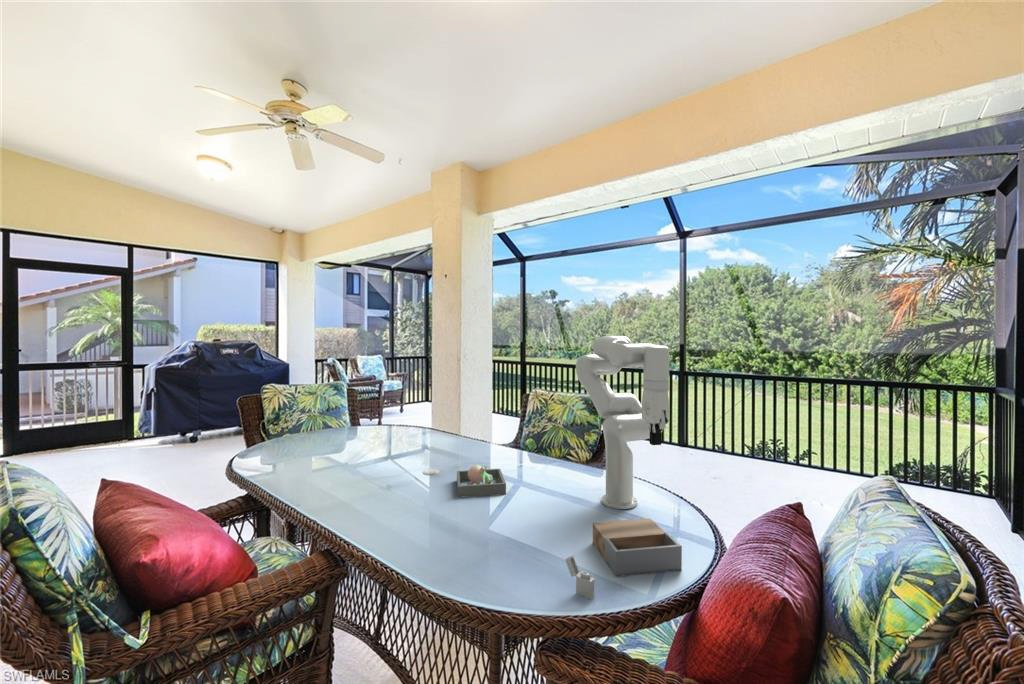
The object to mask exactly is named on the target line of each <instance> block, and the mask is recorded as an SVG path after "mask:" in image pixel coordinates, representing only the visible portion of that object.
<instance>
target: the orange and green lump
mask: <svg viewBox="0 0 1024 684" xmlns="http://www.w3.org/2000/svg"><path fill="white" fill-rule="evenodd" d="M487 467H488V466H487V465H484V466H481V465H480V464H475V465H473V466H470V468H469V469H468V470H469V471H468V478H469V480H470V481H468V483H467V484H466V485H477V484H481V483H482V484H492V482H493V481H494V479H493V477H492V475H489V474H487V473H486V472H485V470H486V469H487Z"/></svg>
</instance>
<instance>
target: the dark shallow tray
mask: <svg viewBox="0 0 1024 684" xmlns="http://www.w3.org/2000/svg"><path fill="white" fill-rule="evenodd" d="M468 471H469V469H468V470H457V471H456V484H457V485H456V486H457V496H458V498H463V497H462V496H469V497H481V496H480V495H484V496H495V495H496V494H500V495H506V494H507V483H506V480H505V478H504V475H503V472H502V470H501V468H490V469H489V468H488V469H487V468H486V470H485V472H486V473H487V474H489V475H492V477H493V480H498V483H491V484H484V483H480V484H473V485H467V484H465V485H464V484H463V485H462V484H461V482H471V481H470V480H469V478H468ZM496 496H497V495H496Z"/></svg>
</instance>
